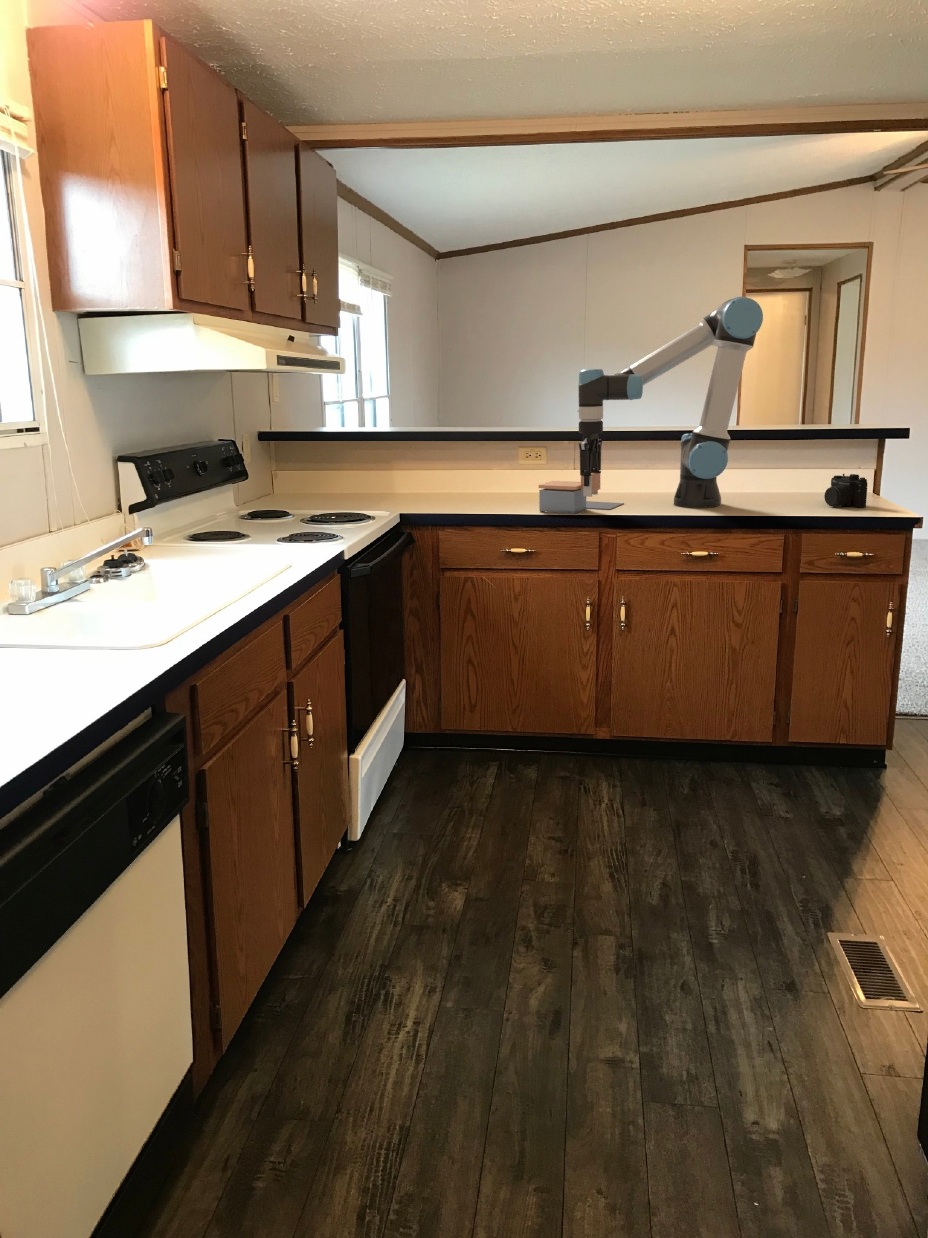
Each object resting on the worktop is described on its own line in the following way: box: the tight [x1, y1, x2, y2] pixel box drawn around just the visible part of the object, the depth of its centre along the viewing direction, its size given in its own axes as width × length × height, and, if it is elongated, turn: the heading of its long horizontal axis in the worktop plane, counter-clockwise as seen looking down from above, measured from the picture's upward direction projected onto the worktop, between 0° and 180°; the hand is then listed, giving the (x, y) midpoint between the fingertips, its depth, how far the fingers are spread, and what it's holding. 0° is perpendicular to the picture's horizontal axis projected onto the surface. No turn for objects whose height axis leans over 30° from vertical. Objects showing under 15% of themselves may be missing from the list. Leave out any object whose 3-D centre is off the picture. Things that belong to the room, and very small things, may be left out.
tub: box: [538, 488, 587, 515], centre depth 318 cm, size 12×10×7 cm
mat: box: [586, 500, 625, 511], centre depth 328 cm, size 17×13×1 cm
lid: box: [538, 473, 601, 491], centre depth 315 cm, size 18×11×5 cm, turn 61°
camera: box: [823, 473, 868, 509], centre depth 315 cm, size 14×11×10 cm
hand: (590, 495), depth 313 cm, fingers closed on lid, 4 cm apart
